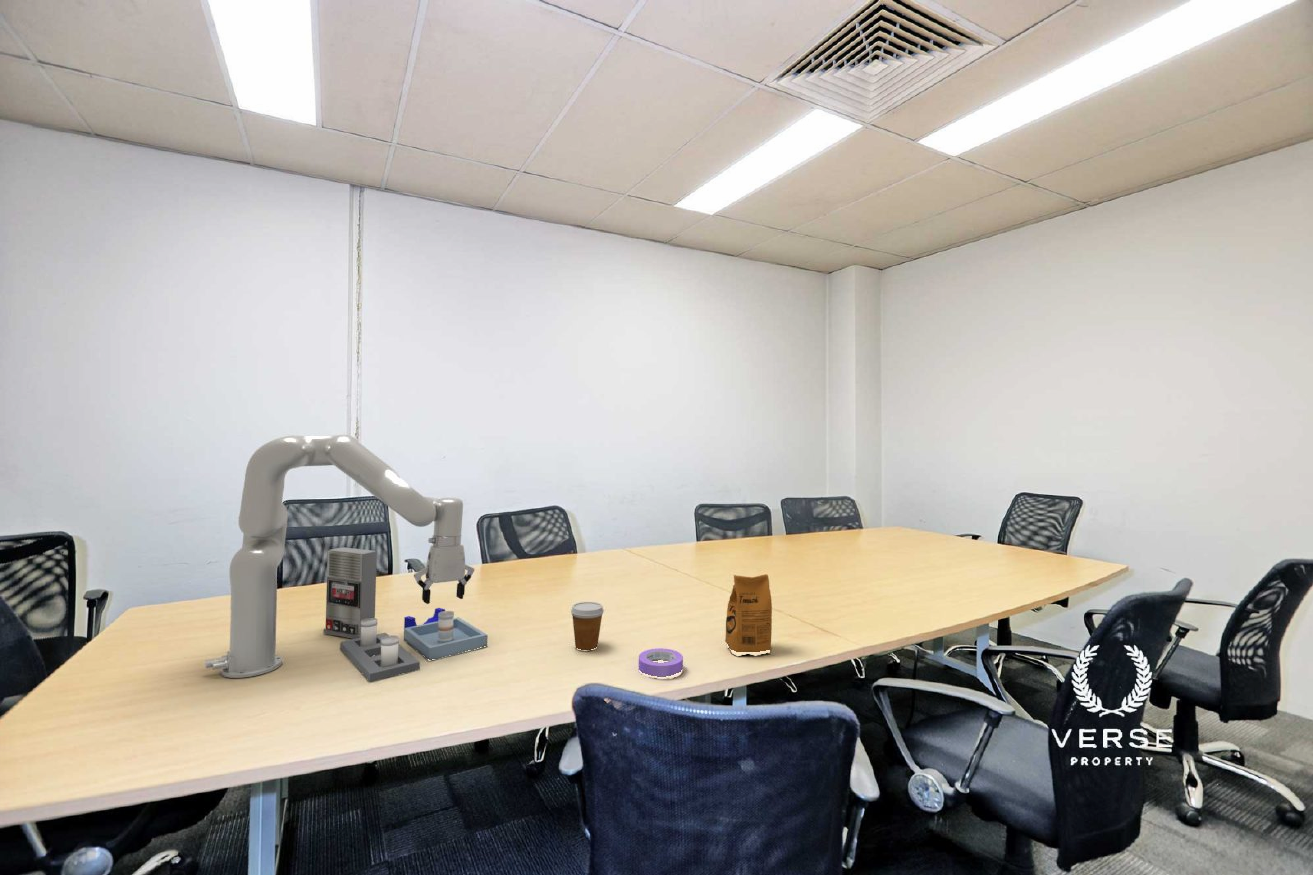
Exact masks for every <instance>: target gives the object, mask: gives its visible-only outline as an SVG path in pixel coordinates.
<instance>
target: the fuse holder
mask: <svg viewBox="0 0 1313 875" xmlns="http://www.w3.org/2000/svg"><path fill="white" fill-rule="evenodd" d="M386 636H390V635H389V634H388V633H387V632H382V633H377V642H376V643H377V644H373V645H369V646H364V647H360V641H361V638H356V639H353V638H350V639H347V640H342V641H340V642H339V644H340V646H339V647H340V648H339V649H340V650H341V651H342V653H343V654H344V655H345V656H346V657H347V659H348V660H349V661H351V663H352V664H353V665H354V664H355V665H354V666H355V668H357V670H360V671H359V672H360V673H361V674H362V673H363V674H362V675H363V676H364V677H365V679H366V680H367V679H368V680H367V681H368V682H369V683H372V682H377V681H380V679H381V680H385V679H389V678H392V676H393V677H397V676H399V674H401V675H403V674H402V673H405V674H408V672H409V673H411V672H412V671H413V672H416V671H415V670H417V671H419V670H418V669H421V666H420V665H421V661H419V660H418V659H417V658H416V657H415V656H413V655H412V654H411V653H410V652H409V651H408V650H407V649H406V648H404V647H403V646H402V645H401V644H400V643H398V664H396V665H392V666H388V667H384V668H380V665H381V638H383V637H386ZM373 655H375V656H373ZM370 656H371V657H370ZM413 672H412V673H413ZM396 675H397V676H396ZM384 678H385V679H384Z"/></svg>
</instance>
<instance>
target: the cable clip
mask: <svg viewBox="0 0 1313 875" xmlns="http://www.w3.org/2000/svg"><path fill="white" fill-rule="evenodd" d="M443 611H446V609H445V608H442V607H436V608H434V613H433V615H432V616H431V617H429V618H428V619H426V621H425V622H424V623H422V624H421V625H423V624H428V623H433V622H438V621H439V618H438V614H439V613H440V612H443ZM403 620H404V622H403V625H404V626H403V627H404V628H408V627H413V626H418V625H417V622H416V618H415V617H413V616H410V615H407V616H404V619H403ZM404 628H403V629H404Z"/></svg>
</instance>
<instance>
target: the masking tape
mask: <svg viewBox="0 0 1313 875" xmlns="http://www.w3.org/2000/svg"><path fill="white" fill-rule="evenodd" d="M658 660H663V661H668V662H664V663H658V662H653V661H658ZM682 669H683V670H684V657H683V654H682V653H680V652H679V651H677V650H674V649H669V648H661V647H659V648H651V649H650V648H649V649H645V650H644V651H642V652H640V654H638V671H639V670H640V671H641V672H642V673H645V674H648V675H651V676H657V677H666V676H671V675H674V674H676V673H679V672H681V670H682Z"/></svg>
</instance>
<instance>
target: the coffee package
mask: <svg viewBox="0 0 1313 875" xmlns="http://www.w3.org/2000/svg"><path fill="white" fill-rule="evenodd" d="M733 582H734V583H733V585H732V590H731V593H730V596H729V600H728V603H727V610H726V619H725V636H724V637H725V639H724V640H725V644H726V643H727V644H728V646H729V648H730V649H731V650H734V651H736V652H760V651H766V650H771V651H772V631H773V630H772V626H773V625H772V623H773V619H772V616H773V604H772V603H773V602H772V595H771V590H770V579H769V575H768V574H767V573H766V574H761V575H758V576H757V575H756V576H753V577H751V576H743V575H736V574H733ZM727 644H726V645H727Z"/></svg>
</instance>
